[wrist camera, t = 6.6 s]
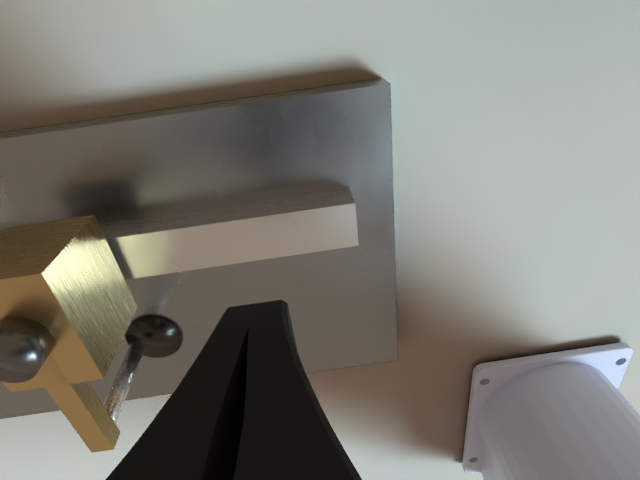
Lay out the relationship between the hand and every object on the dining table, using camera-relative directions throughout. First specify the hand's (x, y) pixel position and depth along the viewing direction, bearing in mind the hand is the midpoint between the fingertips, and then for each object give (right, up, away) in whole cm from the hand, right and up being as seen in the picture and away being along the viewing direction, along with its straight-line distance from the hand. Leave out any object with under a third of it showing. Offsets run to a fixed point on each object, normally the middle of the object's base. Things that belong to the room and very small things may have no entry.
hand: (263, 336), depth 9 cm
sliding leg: (-6, 0, +5) cm, 8 cm away
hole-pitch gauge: (-7, +1, +7) cm, 9 cm away
